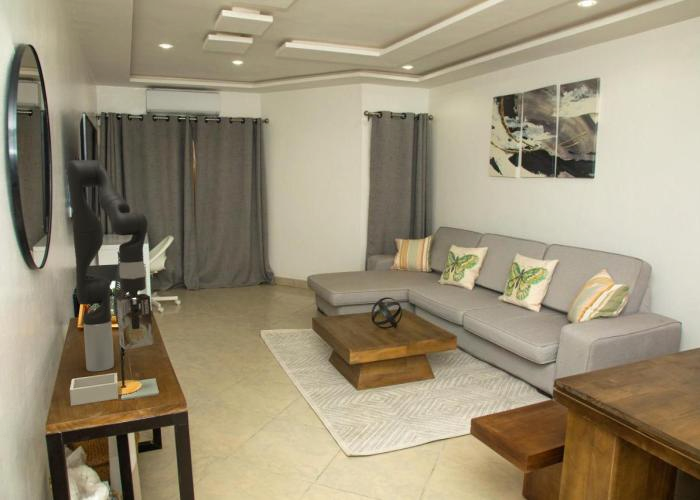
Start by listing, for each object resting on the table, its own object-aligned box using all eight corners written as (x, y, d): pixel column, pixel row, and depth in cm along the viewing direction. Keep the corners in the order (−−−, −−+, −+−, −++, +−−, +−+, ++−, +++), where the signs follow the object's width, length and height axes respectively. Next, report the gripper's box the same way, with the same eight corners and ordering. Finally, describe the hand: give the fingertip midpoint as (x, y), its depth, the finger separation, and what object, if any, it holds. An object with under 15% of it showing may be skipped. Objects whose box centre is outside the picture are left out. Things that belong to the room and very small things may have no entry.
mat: (120, 385, 178) (120, 383, 178) (155, 379, 183) (155, 378, 183) (121, 400, 166) (121, 398, 166) (158, 394, 170) (158, 392, 170)
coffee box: (148, 340, 178) (145, 292, 176) (153, 344, 172) (151, 296, 171) (119, 345, 172) (116, 296, 170) (123, 350, 167) (120, 299, 165)
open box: (73, 393, 171) (72, 378, 170) (117, 387, 176) (116, 372, 176) (70, 405, 162) (69, 390, 161) (118, 398, 167) (117, 383, 166)
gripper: (119, 272, 175) (122, 322, 177) (120, 279, 162) (123, 332, 164) (143, 271, 178) (146, 319, 180) (146, 278, 165) (149, 330, 167)
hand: (135, 325), depth 172 cm, fingers closed on coffee box, 7 cm apart
